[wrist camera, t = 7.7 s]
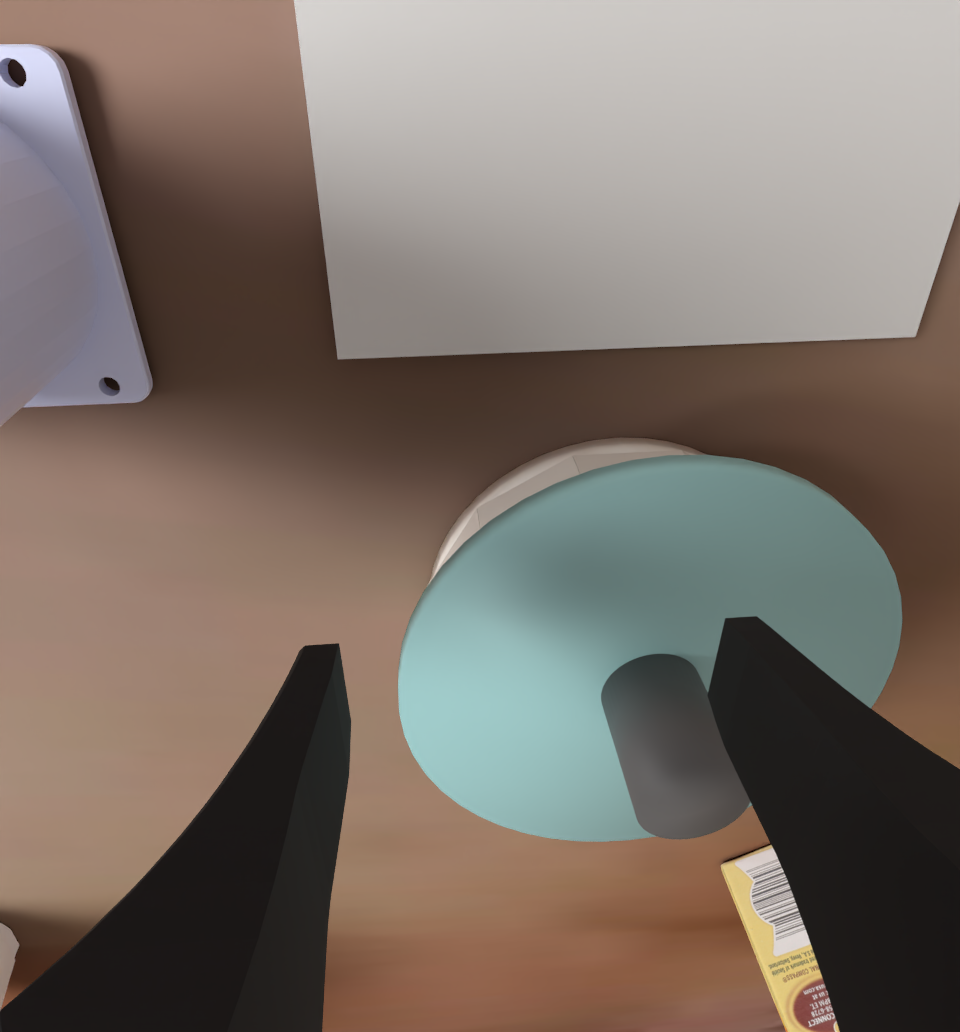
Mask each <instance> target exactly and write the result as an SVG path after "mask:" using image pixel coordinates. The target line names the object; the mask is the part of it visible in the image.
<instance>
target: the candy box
mask: <svg viewBox="0 0 960 1032" xmlns="http://www.w3.org/2000/svg"><path fill="white" fill-rule="evenodd" d="M721 870H722V872H723V875H724V878H725V880H726V882H727V885H728V887H729V890H730V892H731V895H732V897H733V900H734V902H735V905H736V907H737V910H738V912H739V915H740V917H741V920H742V922H743V925H744V927H745V930H746V932H747V935H748V937H749V940H750V942H751V945H752V947H753V950H754V952H755V955H756V958H757V960H758V963H759V965H760V968H761V970H762V972H763V975H764V977H765V980H766V982H767V985H768V987H769V990H770V992H771V995H772V997H773V1000H774V1002H775V1005H776V1007H777V1010H778V1012H779V1015H780V1017H781V1020H782V1022H783V1025H784V1027H785V1030H786V1032H840V1031H839V1028H838V1025H837V1022H836V1018H835V1015H834V1012H833V1009H832V1006H831V1003H830V999H829V996H828V993H827V990H826V987H825V984H824V981H823V978H822V975H821V972H820V970H819V967H818V964H817V961H816V958H815V955H814V952H813V949H812V946H811V943H810V940H809V938H808V935H807V932H806V929H805V926H804V924H803V921H802V918H801V916H800V913H799V910H798V907H797V905H796V902H795V899H794V897H793V894H792V891H791V888H790V886H789V883H788V880H787V878H786V876H785V873H784V871H783V869H782V867H781V864H780V862H779V860H778V857H777V855H776V853H775V851H774V849H773V847H772V845H769V846H767V847H764V848H762V849H759V850H757V851H754V852H752V853H749V854H747V855H744V856H741V857H739V858H736V859H733V860H730V861H727V862H725V863H722V865H721Z"/></svg>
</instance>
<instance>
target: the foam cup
mask: <svg viewBox="0 0 960 1032" xmlns="http://www.w3.org/2000/svg"><path fill="white" fill-rule="evenodd" d="M18 948H19V943H18V941H17V940H16V938H15V936H14V934H13V932H12V931H11V929H10V928H8V927H7V926H5V925H4V924H2V923H0V1010H1V1006H2V1003H3V1000H4V996H5V993H6V990H7V986H8V983H9V980H10V976H11V973H12V970H13V967H14V963H15V955H16V953H17V950H18Z"/></svg>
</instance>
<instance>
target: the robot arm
mask: <svg viewBox="0 0 960 1032" xmlns="http://www.w3.org/2000/svg"><path fill="white" fill-rule="evenodd" d="M12 59H15V60H16V61H18V62H19V63H20V64H21V65H22V66H23V68H24V70H25V72H26V82H25V84H24V86H19V85H17V84H16V83H15V82H14V81H13V80H12V79H11V77H10V75H9V73H8V64H9V62H10V60H12ZM104 377H109V378H113V379H114V380H116V381H117V382H118V384H119V386H120V390H113V389H111V388H109V387H108V386H107V385H106V384H105V382H104ZM152 387H153V382H152V377H151V373H150V369H149V366H148V362H147V358H146V355H145V351H144V347H143V344H142V340H141V336H140V333H139V329H138V325H137V322H136V318H135V314H134V311H133V307H132V303H131V300H130V296H129V292H128V289H127V285H126V281H125V277H124V274H123V270H122V266H121V263H120V259H119V255H118V252H117V248H116V244H115V241H114V237H113V233H112V230H111V226H110V222H109V219H108V215H107V211H106V208H105V204H104V200H103V197H102V193H101V189H100V186H99V182H98V178H97V174H96V171H95V167H94V163H93V160H92V156H91V152H90V149H89V145H88V141H87V138H86V134H85V130H84V127H83V123H82V119H81V116H80V112H79V108H78V105H77V101H76V97H75V94H74V90H73V86H72V83H71V79H70V75H69V72H68V70H67V67H66V65H65V63H64V61H63V60H62V59H61V58H60V56H59V55H58V54H57V53H56V52H54V51H53V50H51V49H50V48H48V47H46V46H42V45H37V44H0V427H1V426H2V425H3V424H4V423H5V422H6V421H8V420H9V419H10V418H11V417H12V416H13V415H14V414H15V413H16V412H18V411H19V410H20V409H21V408H22V407H46V406H69V405H93V404H117V403H136V402H140V401H142V400H144V399H145V398H146V397H147V396H148V395H149V394H150V392H151V390H152ZM707 696H708V699H709V702H710V705H711V708H712V712H713V715H714V718H715V721H716V724H717V727H718V730H719V733H720V736H721V739H722V741H723V744H724V747H725V749H726V751H727V753H728V755H729V758H730V760H731V762H732V764H733V766H734V768H735V770H736V772H737V774H738V777H739V779H740V781H741V783H742V785H743V787H744V789H745V791H746V793H747V795H748V797H749V799H750V802H751V804H752V806H753V808H754V810H755V812H756V814H757V816H758V818H759V820H760V822H761V824H762V826H763V828H764V830H765V832H766V835H767V837H768V839H769V841H770V843H771V845H772V847H773V849H774V851H775V853H776V855H777V857H778V860H779V862H780V864H781V867H782V869H783V871H784V873H785V876H786V878H787V880H788V883H789V886H790V888H791V891H792V894H793V897H794V899H795V902H796V905H797V907H798V910H799V913H800V916H801V918H802V921H803V924H804V926H805V929H806V932H807V935H808V938H809V940H810V943H811V946H812V949H813V952H814V955H815V958H816V961H817V964H818V967H819V970H820V972H821V975H822V978H823V981H824V984H825V987H826V990H827V993H828V996H829V999H830V1003H831V1006H832V1009H833V1012H834V1015H835V1018H836V1022H837V1025H838V1028H839V1031H840V1032H960V769H958V768H957V767H955V766H954V765H952V764H951V763H949V762H947V761H946V760H944V759H943V758H941V757H940V756H938V755H936V754H935V753H933V752H932V751H930V750H929V749H927V748H925V747H924V746H923V745H921V744H920V743H918V742H917V741H915V740H914V739H912V738H911V737H909V736H908V735H906V734H905V733H904V732H902V731H901V730H899V729H898V728H897V727H895V726H894V725H893V724H891V723H890V722H888V721H887V720H886V719H884V718H883V717H881V716H880V715H879V714H877V713H876V712H875V711H873V710H872V709H871V708H869V707H868V706H867V705H865V704H864V703H863V702H861V701H860V700H859V699H857V698H856V697H855V696H854V695H852V694H851V693H850V692H849V691H847V690H846V689H845V688H843V687H842V686H841V685H840V684H838V683H837V682H836V681H835V680H833V679H832V678H831V677H830V676H829V675H827V674H826V673H825V672H824V671H822V670H821V669H820V668H819V667H818V666H816V665H815V664H814V663H813V662H812V661H810V660H809V659H808V658H807V657H806V656H804V655H803V654H802V653H801V652H800V651H798V650H797V649H796V648H795V647H794V646H792V645H791V644H790V643H789V642H788V641H786V640H785V639H784V638H783V637H782V636H781V635H779V634H778V633H777V632H776V631H775V630H773V629H772V628H771V627H770V626H768V625H767V624H766V623H765V622H764V621H762V620H761V619H760V618H758V617H757V616H751V617H736V618H725V621H724V625H723V630H722V634H721V638H720V643H719V647H718V652H717V656H716V660H715V665H714V669H713V673H712V678H711V682H710V686H709V691H708V695H707ZM350 737H351V718H350V712H349V705H348V699H347V692H346V686H345V680H344V673H343V667H342V660H341V654H340V647H339V644H324V645H308V646H304V647H303V648H302V649H301V650H300V651H299V653H298V655H297V658H296V660H295V662H294V664H293V666H292V668H291V670H290V672H289V674H288V676H287V678H286V680H285V682H284V684H283V686H282V687H281V689H280V691H279V693H278V695H277V696H276V698H275V700H274V702H273V704H272V705H271V707H270V709H269V710H268V712H267V714H266V715H265V717H264V719H263V720H262V722H261V724H260V725H259V727H258V728H257V730H256V732H255V733H254V735H253V737H252V738H251V740H250V741H249V743H248V745H247V746H246V748H245V749H244V751H243V752H242V753H241V755H240V756H239V758H238V759H237V761H236V762H235V764H234V765H233V767H232V768H231V769H230V771H229V772H228V774H227V775H226V777H225V778H224V780H223V781H222V783H221V784H220V785H219V787H218V788H217V789H216V791H215V792H214V793H213V795H212V796H211V797H210V799H209V800H208V801H207V803H206V804H205V805H204V807H203V808H202V809H201V810H200V812H199V813H198V814H197V815H196V817H195V818H194V819H193V820H192V822H191V823H190V824H189V825H188V827H187V828H186V829H185V830H184V832H183V833H182V834H181V835H180V836H179V837H178V839H177V840H176V841H175V842H174V843H173V844H172V845H171V847H170V848H169V849H168V850H167V851H166V852H165V853H164V855H163V856H162V857H161V858H160V859H159V860H158V861H157V863H156V864H155V865H154V866H153V867H152V868H151V869H150V870H149V871H148V873H147V874H146V875H145V876H144V877H143V878H142V879H141V880H140V881H139V882H138V883H137V884H136V885H135V886H134V888H133V889H132V890H131V891H130V892H129V893H128V894H127V895H126V896H125V897H124V898H123V899H122V900H121V901H120V902H119V903H118V904H117V905H116V906H114V907H113V908H112V909H111V910H110V911H109V912H108V913H107V914H106V915H105V916H104V917H103V918H102V919H101V920H100V921H99V922H98V923H97V924H96V925H95V926H94V927H93V928H92V929H91V930H90V931H89V932H88V933H87V934H86V935H85V936H84V937H83V938H82V939H81V940H80V941H79V942H78V943H77V944H76V945H75V946H73V947H72V948H71V949H70V950H69V951H68V952H67V953H66V954H65V955H64V956H62V957H61V958H60V959H59V960H58V961H57V962H56V963H54V964H53V965H52V966H51V967H50V968H49V969H48V970H46V971H45V972H44V973H43V974H42V975H41V976H40V977H38V978H37V979H36V980H35V981H34V982H33V983H32V984H30V985H29V986H28V987H27V988H26V989H25V990H24V991H22V992H21V993H20V994H19V995H18V996H17V997H16V998H14V999H13V1000H12V1001H11V1002H10V1003H9V1004H7V1005H6V1006H5V1007H4V1008H3V1009H1V1010H0V1032H322V1022H323V1002H324V982H325V965H326V948H327V931H328V918H329V909H330V900H331V892H332V885H333V879H334V872H335V865H336V859H337V852H338V845H339V839H340V832H341V826H342V819H343V812H344V806H345V799H346V792H347V785H348V778H349V763H350Z"/></svg>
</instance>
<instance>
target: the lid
mask: <svg viewBox="0 0 960 1032" xmlns="http://www.w3.org/2000/svg"><path fill="white" fill-rule="evenodd" d="M751 616H757V617H758V618H760V619H761V620H762V621H764V622H765V623H766V624H767V625H768V626H770V627H771V628H772V629H773V630H775V631H776V632H777V633H778V634H779V635H781V636H782V637H783V638H784V639H785V640H786V641H788V642H789V643H790V644H791V645H792V646H794V647H795V648H796V649H797V650H798V651H800V652H801V653H802V654H803V655H804V656H806V657H807V658H808V659H809V660H810V661H812V662H813V663H814V664H815V665H816V666H818V667H819V668H820V669H821V670H822V671H824V672H825V673H826V674H827V675H829V676H830V677H831V678H832V679H833V680H835V681H836V682H837V683H838V684H840V685H841V686H842V687H843V688H845V689H846V690H847V691H849V692H850V693H851V694H852V695H854V696H855V697H856V698H857V699H859V700H860V701H861V702H863V703H864V704H865V705H867V706H868V707H869V708H872V706H873V705H874V703H875V701H876V700H877V698H878V697H879V695H880V694H881V692H882V690H883V688H884V686H885V683H886V681H887V679H888V677H889V675H890V673H891V671H892V668H893V665H894V662H895V658H896V655H897V652H898V648H899V644H900V636H901V629H902V604H901V595H900V591H899V587H898V583H897V579H896V575H895V573H894V571H893V569H892V566H891V564H890V562H889V560H888V558H887V556H886V554H885V552H884V551H883V549H882V548H881V547H880V545H879V544H878V543H877V541H876V540H875V539H874V537H873V536H872V535H871V534H870V532H869V531H868V530H867V529H866V528H865V527H864V526H863V525H862V524H861V523H860V522H859V521H858V520H857V519H856V518H855V517H854V516H853V515H852V514H851V513H850V512H849V511H848V510H847V509H846V508H845V507H844V506H843V505H841V504H840V503H839V502H838V501H837V500H836V499H835V498H834V497H832V496H831V495H830V494H828V493H827V492H825V491H824V490H822V489H820V488H819V487H817V486H815V485H814V484H812V483H811V482H809V481H807V480H806V479H803V478H801V477H799V476H796V475H794V474H791V473H789V472H787V471H784V470H782V469H779V468H777V467H774V466H770V465H766V464H762V463H758V462H754V461H750V460H746V459H740V458H731V457H723V456H714V455H667V456H659V457H651V458H644V459H636V460H630V461H626V462H621V463H617V464H613V465H609V466H605V467H601V468H597V469H593V470H590V471H587V472H585V473H582V474H579V475H576V476H574V477H571V478H568V479H566V480H563V481H560V482H557V483H555V484H553V485H551V486H549V487H547V488H545V489H543V490H541V491H539V492H537V493H535V494H533V495H531V496H529V497H527V498H525V499H523V500H521V501H520V502H518V503H517V504H515V505H513V506H512V507H510V508H509V509H507V510H506V511H504V512H503V513H501V514H500V515H498V516H496V517H495V518H493V519H492V520H490V521H489V522H488V523H487V524H486V525H484V526H483V527H482V528H481V529H480V530H478V531H477V532H476V533H475V534H474V535H472V536H471V537H470V538H469V539H468V540H466V541H465V542H464V543H463V544H462V545H461V546H460V547H459V548H458V549H457V550H456V551H455V553H454V554H453V555H452V556H451V557H450V558H449V559H448V560H447V561H446V562H445V563H444V564H443V565H442V566H441V568H440V569H439V571H438V572H437V573H436V575H435V576H434V578H433V579H432V580H431V582H430V583H429V585H428V586H427V588H426V589H425V590H424V592H423V594H422V596H421V598H420V600H419V601H418V603H417V605H416V607H415V609H414V611H413V613H412V615H411V617H410V620H409V623H408V626H407V629H406V633H405V636H404V639H403V642H402V647H401V654H400V661H399V675H398V694H399V714H400V718H401V723H402V727H403V731H404V736H405V738H406V740H407V742H408V745H409V747H410V749H411V751H412V754H413V756H414V757H415V759H416V760H417V762H418V763H419V765H420V766H421V768H422V769H423V771H424V772H425V774H426V775H427V776H428V777H429V778H430V779H431V780H432V781H433V782H434V783H435V785H436V786H437V787H438V788H439V789H440V790H441V791H442V792H444V793H445V794H446V795H448V796H449V797H450V798H451V799H453V800H454V801H455V802H456V803H458V804H459V805H461V806H462V807H464V808H466V809H468V810H469V811H471V812H473V813H474V814H476V815H478V816H480V817H482V818H484V819H486V820H489V821H491V822H493V823H496V824H498V825H500V826H503V827H506V828H510V829H513V830H516V831H519V832H523V833H526V834H531V835H536V836H541V837H546V838H552V839H561V840H571V841H598V842H605V841H621V840H633V839H641V838H648V837H655V836H658V837H661V838H666V839H690V838H696V837H700V836H704V835H707V834H710V833H713V832H716V831H718V830H720V829H722V828H724V827H726V826H727V825H729V824H730V823H732V822H733V821H735V820H736V819H737V818H738V817H739V816H740V815H741V814H742V813H743V812H744V811H745V810H746V809H747V808H748V807H750V806H752V804H751V802H750V799H749V797H748V795H747V793H746V791H745V789H744V787H743V785H742V783H741V781H740V779H739V777H738V774H737V772H736V770H735V768H734V766H733V764H732V762H731V760H730V758H729V755H728V753H727V751H726V749H725V747H724V744H723V741H722V739H721V736H720V733H719V730H718V727H717V724H716V721H715V718H714V715H713V712H712V708H711V705H710V702H709V699H708V696H707V695H708V691H709V686H710V682H711V678H712V673H713V669H714V665H715V660H716V656H717V652H718V647H719V643H720V638H721V634H722V630H723V625H724V621H725V618H736V617H751Z"/></svg>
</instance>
